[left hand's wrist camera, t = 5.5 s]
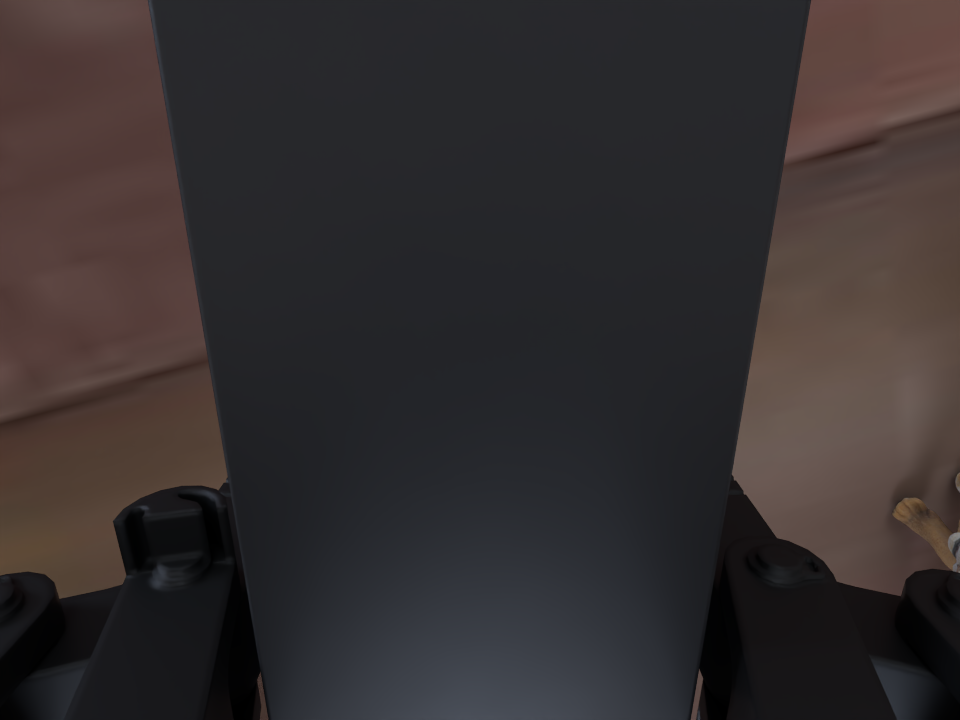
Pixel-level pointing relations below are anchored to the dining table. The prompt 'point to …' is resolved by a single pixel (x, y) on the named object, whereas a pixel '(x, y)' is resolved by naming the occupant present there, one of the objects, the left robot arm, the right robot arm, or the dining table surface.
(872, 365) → the dining table surface
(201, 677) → the left robot arm
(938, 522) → the lion figurine
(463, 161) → the bar
